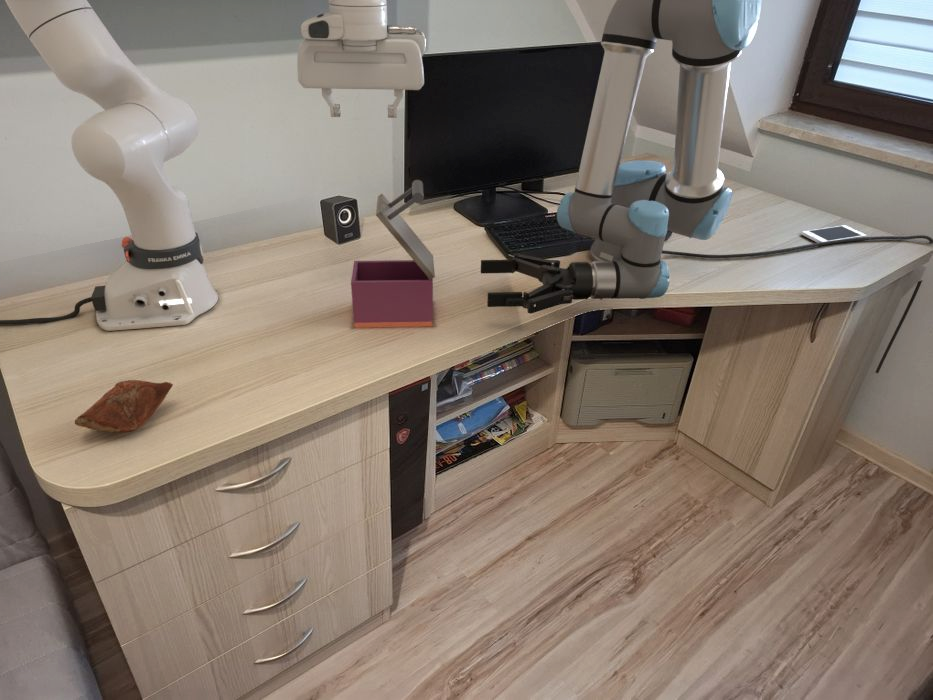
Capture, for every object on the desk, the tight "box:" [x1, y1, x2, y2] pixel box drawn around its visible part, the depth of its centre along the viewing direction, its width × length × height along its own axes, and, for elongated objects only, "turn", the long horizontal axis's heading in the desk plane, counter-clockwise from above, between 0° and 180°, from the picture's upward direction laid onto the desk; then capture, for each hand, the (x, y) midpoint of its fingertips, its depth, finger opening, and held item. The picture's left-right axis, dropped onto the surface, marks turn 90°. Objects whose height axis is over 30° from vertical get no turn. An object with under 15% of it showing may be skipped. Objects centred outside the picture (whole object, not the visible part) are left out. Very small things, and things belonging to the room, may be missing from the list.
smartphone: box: [801, 224, 867, 243], centre depth 170 cm, size 7×16×1 cm, turn 111°
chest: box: [350, 259, 434, 329], centre depth 126 cm, size 15×9×10 cm, turn 95°
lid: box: [375, 179, 436, 280], centre depth 119 cm, size 16×9×9 cm
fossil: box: [74, 379, 174, 434], centre depth 97 cm, size 13×8×10 cm
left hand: (364, 116), depth 107 cm, fingers open, 8 cm apart
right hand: (483, 282), depth 126 cm, fingers open, 13 cm apart
